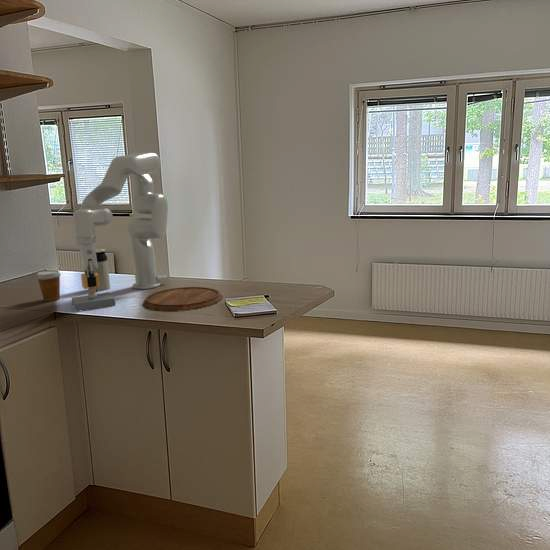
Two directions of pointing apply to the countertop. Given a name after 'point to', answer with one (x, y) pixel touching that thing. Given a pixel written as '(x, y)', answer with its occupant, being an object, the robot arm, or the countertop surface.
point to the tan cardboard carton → (85, 282)
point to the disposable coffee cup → (49, 284)
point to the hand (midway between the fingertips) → (91, 284)
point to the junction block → (93, 300)
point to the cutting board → (182, 298)
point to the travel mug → (102, 269)
